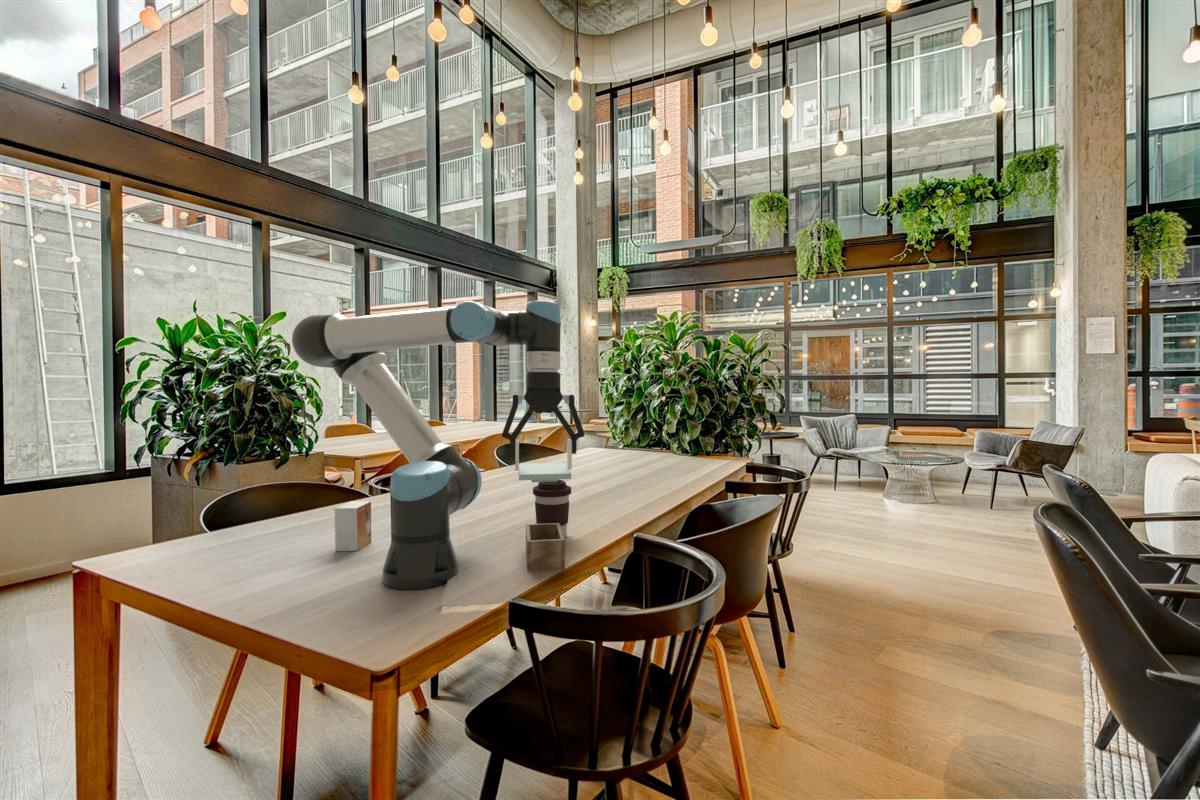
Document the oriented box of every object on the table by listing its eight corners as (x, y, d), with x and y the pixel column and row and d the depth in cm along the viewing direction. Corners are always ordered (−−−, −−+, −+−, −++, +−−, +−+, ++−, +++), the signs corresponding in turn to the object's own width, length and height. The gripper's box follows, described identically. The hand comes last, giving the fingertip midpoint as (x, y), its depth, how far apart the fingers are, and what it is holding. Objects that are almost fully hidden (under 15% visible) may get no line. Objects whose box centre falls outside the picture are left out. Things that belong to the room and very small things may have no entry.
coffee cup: (553, 547, 134) (553, 486, 134) (525, 539, 140) (524, 482, 140) (579, 537, 142) (579, 480, 141) (551, 531, 148) (550, 476, 147)
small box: (357, 551, 130) (356, 508, 130) (334, 551, 130) (333, 508, 130) (372, 541, 138) (371, 500, 138) (350, 541, 139) (349, 500, 138)
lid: (519, 484, 114) (519, 474, 114) (518, 472, 129) (518, 463, 129) (571, 482, 116) (571, 473, 115) (564, 471, 130) (564, 462, 130)
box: (527, 574, 115) (527, 541, 115) (525, 553, 129) (525, 524, 129) (564, 572, 117) (564, 540, 116) (559, 551, 130) (559, 522, 130)
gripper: (489, 370, 116) (489, 472, 117) (597, 371, 119) (597, 470, 120) (490, 371, 123) (491, 467, 124) (593, 371, 127) (592, 465, 128)
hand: (543, 469), depth 122 cm, fingers closed on lid, 11 cm apart
